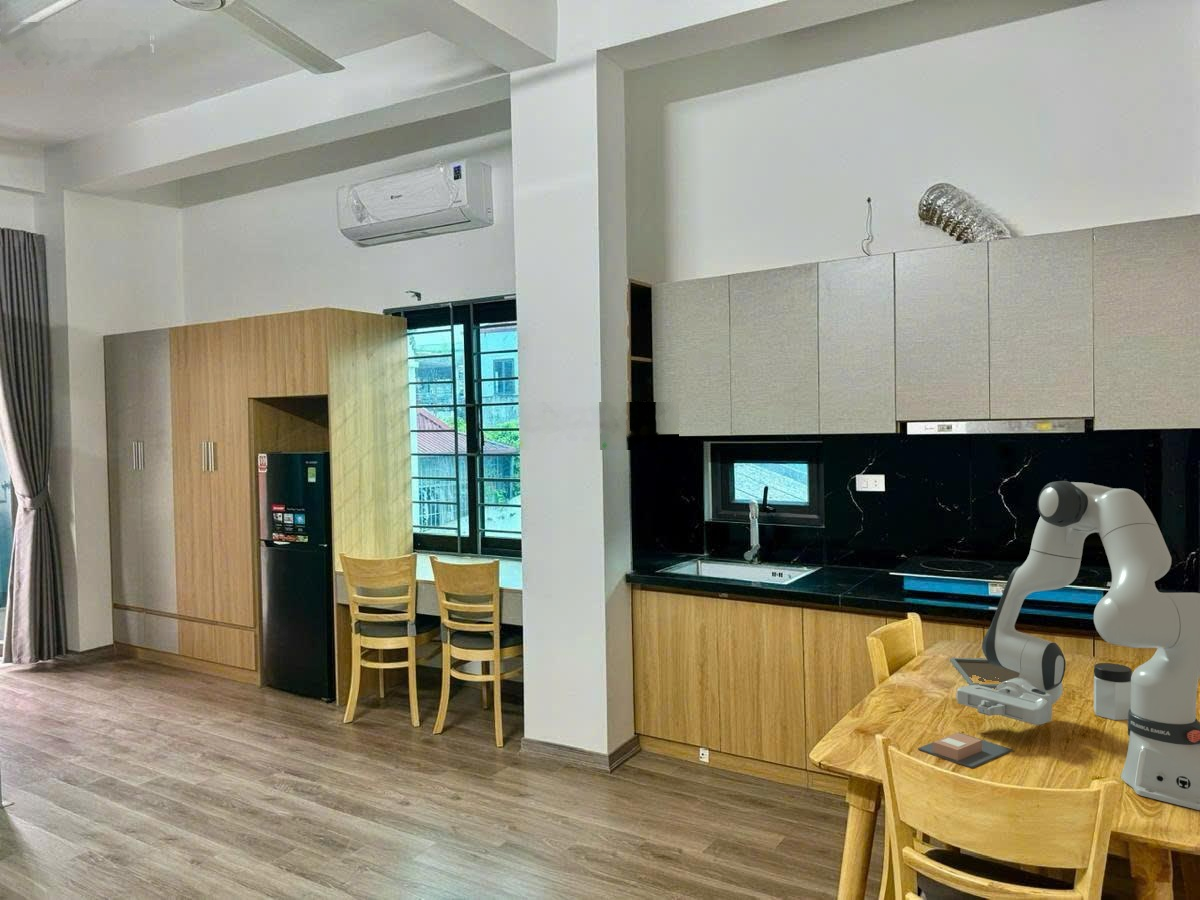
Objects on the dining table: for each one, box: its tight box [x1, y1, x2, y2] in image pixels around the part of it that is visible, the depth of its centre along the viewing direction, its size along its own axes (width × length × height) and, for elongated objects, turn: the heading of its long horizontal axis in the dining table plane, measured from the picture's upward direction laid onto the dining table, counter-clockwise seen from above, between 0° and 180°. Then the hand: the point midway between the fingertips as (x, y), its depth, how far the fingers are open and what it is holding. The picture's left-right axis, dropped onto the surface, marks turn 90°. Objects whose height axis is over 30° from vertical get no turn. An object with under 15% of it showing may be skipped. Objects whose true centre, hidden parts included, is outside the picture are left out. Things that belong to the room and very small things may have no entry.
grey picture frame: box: [949, 657, 1020, 688], centre depth 251 cm, size 19×2×30 cm
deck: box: [932, 732, 983, 761], centre depth 192 cm, size 2×6×9 cm
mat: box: [917, 732, 1013, 769], centre depth 194 cm, size 13×16×1 cm
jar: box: [1093, 662, 1133, 721], centre depth 215 cm, size 9×8×12 cm
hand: (983, 710), depth 198 cm, fingers closed
